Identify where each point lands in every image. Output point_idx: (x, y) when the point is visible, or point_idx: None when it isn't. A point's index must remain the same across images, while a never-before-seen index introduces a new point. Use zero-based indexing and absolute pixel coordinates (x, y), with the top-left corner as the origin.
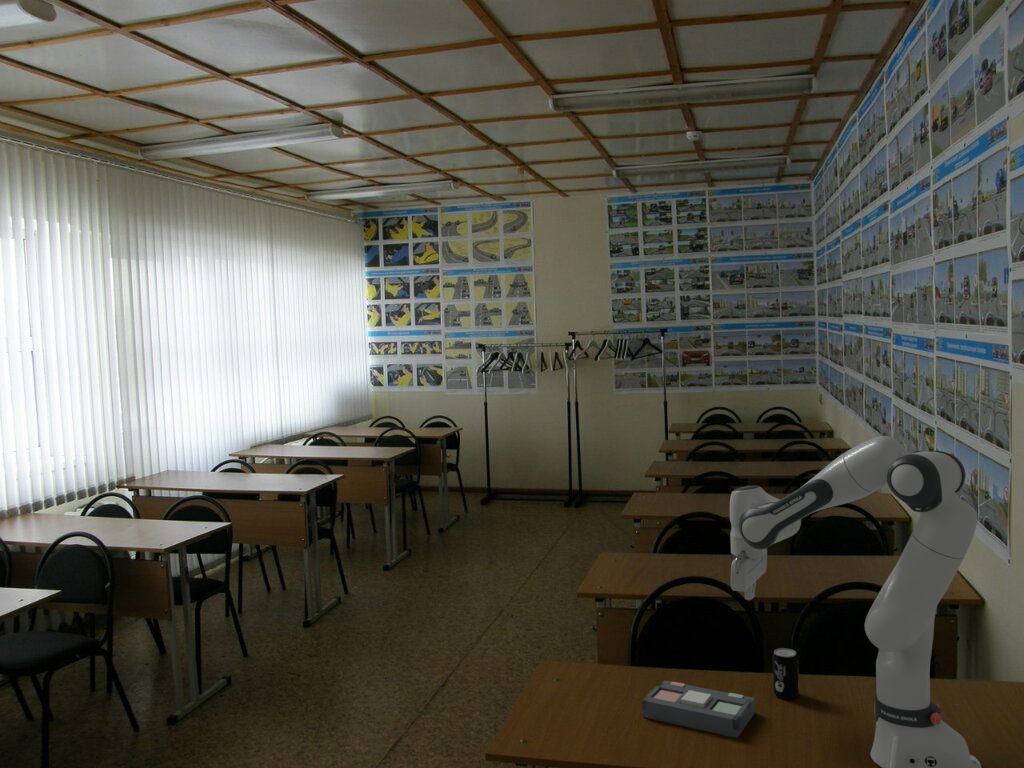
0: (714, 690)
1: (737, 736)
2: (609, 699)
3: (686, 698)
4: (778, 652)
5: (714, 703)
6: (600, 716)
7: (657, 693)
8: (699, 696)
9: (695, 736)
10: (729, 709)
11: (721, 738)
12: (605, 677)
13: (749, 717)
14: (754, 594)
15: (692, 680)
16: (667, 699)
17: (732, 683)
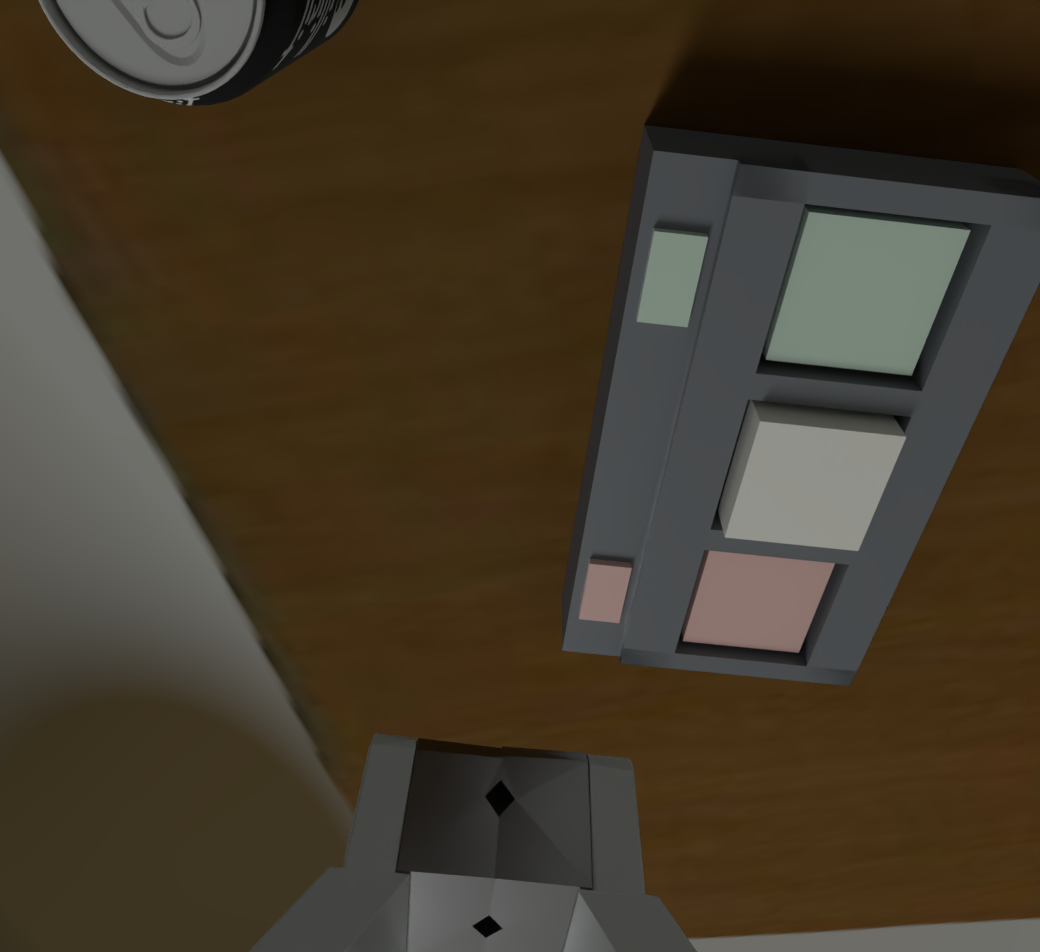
0: (608, 411)
1: (1019, 170)
2: (683, 754)
3: (846, 528)
4: (162, 50)
5: (818, 378)
6: (849, 746)
7: (731, 645)
8: (804, 473)
9: (1009, 385)
10: (872, 278)
11: None
12: None
13: (769, 144)
14: (376, 776)
15: (343, 524)
16: (792, 595)
17: (275, 333)
